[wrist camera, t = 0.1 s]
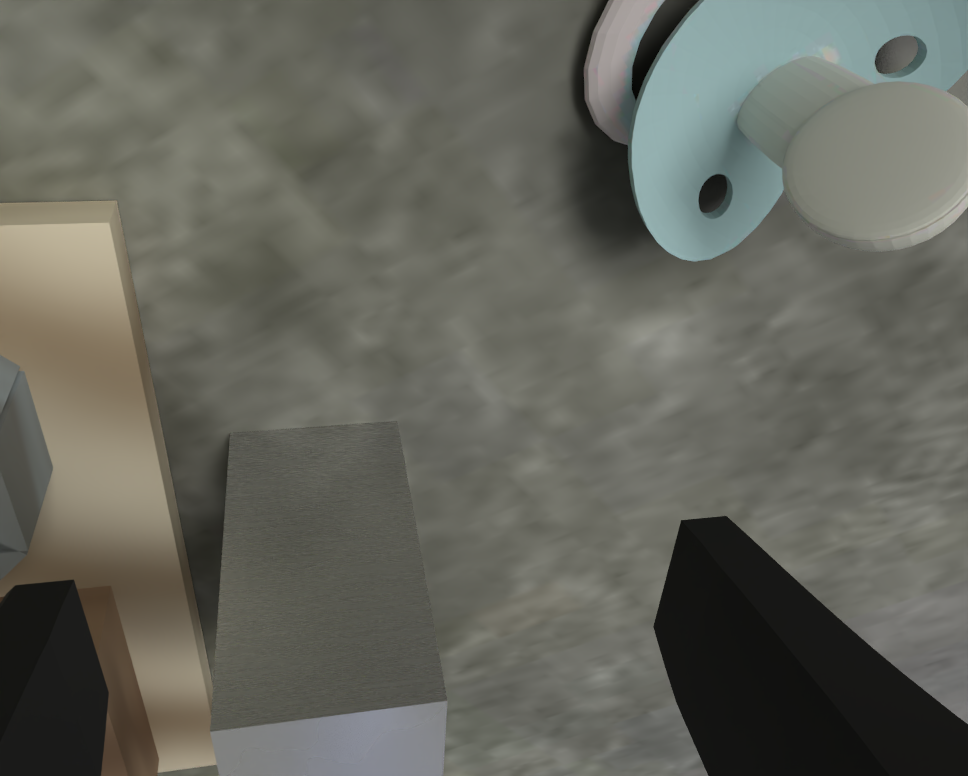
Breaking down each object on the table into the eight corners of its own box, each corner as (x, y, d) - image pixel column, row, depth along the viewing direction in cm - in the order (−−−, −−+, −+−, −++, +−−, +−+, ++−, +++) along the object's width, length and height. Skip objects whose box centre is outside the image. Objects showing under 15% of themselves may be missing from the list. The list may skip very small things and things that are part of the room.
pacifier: (511, 45, 17) (662, 251, 20) (598, 156, 12) (782, 408, 15) (839, -236, 15) (948, 39, 19) (1103, -244, 10) (1191, 136, 14)
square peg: (397, 536, 24) (440, 820, 18) (246, 550, 23) (235, 852, 17) (397, 421, 22) (447, 700, 15) (229, 433, 21) (210, 731, 15)
